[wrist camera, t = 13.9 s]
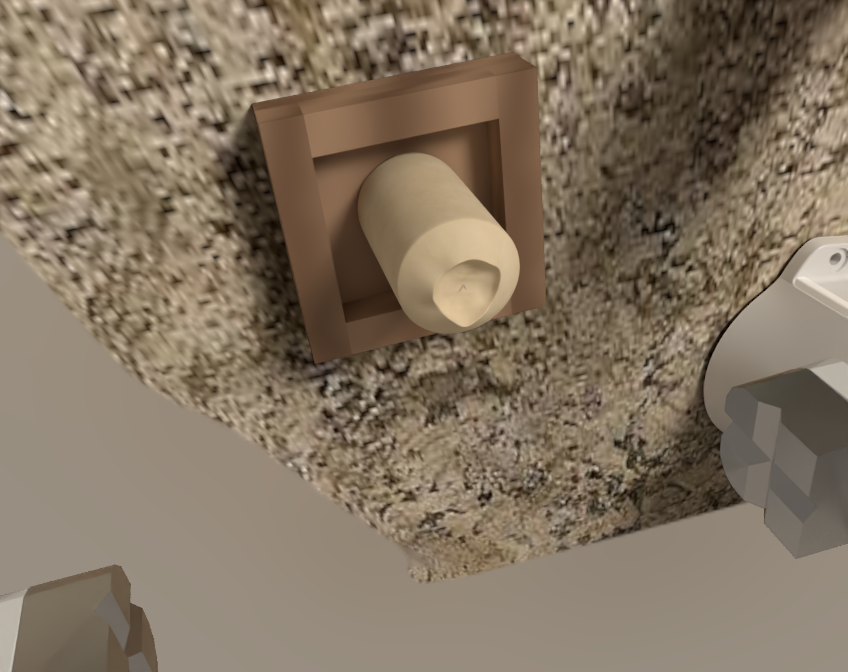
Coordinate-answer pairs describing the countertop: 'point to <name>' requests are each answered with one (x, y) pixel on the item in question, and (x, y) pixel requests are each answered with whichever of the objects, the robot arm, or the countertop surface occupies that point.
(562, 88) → the countertop surface
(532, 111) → the brown shallow square tray
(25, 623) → the robot arm
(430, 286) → the candle
